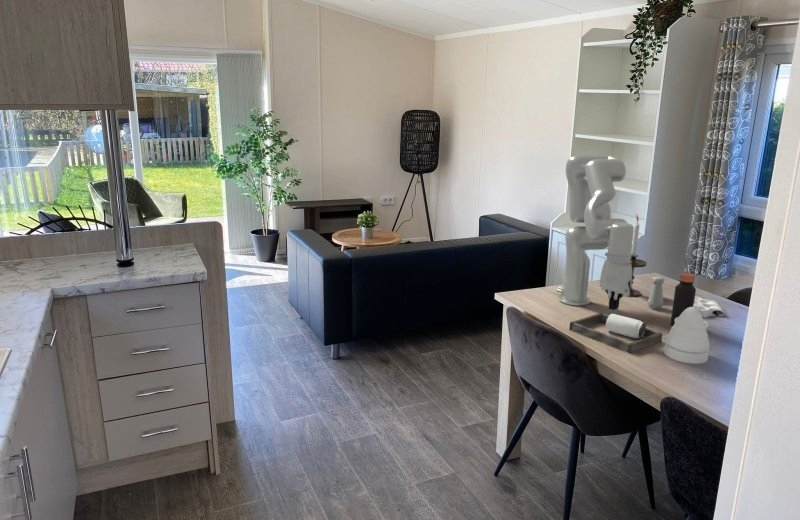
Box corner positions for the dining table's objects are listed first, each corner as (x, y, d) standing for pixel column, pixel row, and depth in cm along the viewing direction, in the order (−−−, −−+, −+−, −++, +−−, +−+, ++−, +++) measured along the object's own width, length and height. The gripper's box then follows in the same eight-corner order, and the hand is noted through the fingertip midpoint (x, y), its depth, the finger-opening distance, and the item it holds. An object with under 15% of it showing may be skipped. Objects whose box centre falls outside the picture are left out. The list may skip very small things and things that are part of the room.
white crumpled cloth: (726, 320, 224) (684, 317, 228) (714, 305, 241) (676, 302, 245) (727, 312, 223) (685, 308, 227) (716, 297, 240) (677, 294, 244)
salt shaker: (660, 305, 239) (664, 275, 235) (664, 310, 233) (668, 279, 230) (645, 305, 239) (648, 274, 236) (649, 310, 234) (653, 279, 230)
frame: (569, 330, 212) (569, 322, 212) (600, 320, 223) (600, 312, 222) (630, 353, 193) (631, 345, 192) (661, 341, 203) (662, 333, 202)
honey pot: (716, 361, 188) (725, 308, 183) (683, 365, 184) (691, 311, 180) (687, 345, 200) (694, 295, 195) (655, 349, 196) (662, 298, 192)
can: (611, 330, 215) (643, 339, 206) (603, 331, 210) (636, 340, 202) (614, 313, 214) (647, 321, 206) (607, 313, 209) (640, 322, 201)
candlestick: (611, 293, 254) (619, 213, 245) (623, 288, 261) (632, 210, 252) (635, 299, 247) (645, 217, 238) (647, 293, 254) (656, 214, 245)
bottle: (674, 321, 221) (681, 271, 216) (693, 326, 217) (700, 274, 211) (667, 326, 217) (674, 274, 212) (686, 331, 212) (693, 278, 207)
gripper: (593, 255, 205) (588, 305, 210) (631, 265, 194) (625, 317, 198) (606, 252, 210) (601, 301, 214) (644, 261, 198) (638, 313, 203)
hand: (613, 308), depth 206 cm, fingers closed
